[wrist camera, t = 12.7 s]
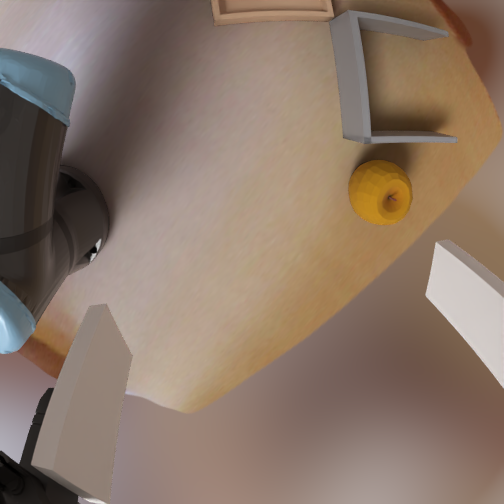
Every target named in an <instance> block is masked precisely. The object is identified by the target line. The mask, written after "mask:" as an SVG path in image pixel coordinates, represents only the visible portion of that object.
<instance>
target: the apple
mask: <svg viewBox="0 0 504 504" xmlns="http://www.w3.org/2000/svg"><path fill="white" fill-rule="evenodd" d="M348 191H349V198H350V202H351V205H352V207H353V209H354V211H355V212H356V213H357V214H358V215H359V216H360V217H361V218H362V219H364V220H366V221H368V222H370V223H373V224H378V225H391V224H395V223H397V222H398V221H400V220H401V219H403V218H404V217H405V215H406V214H407V213H408V211H409V209H410V206H411V202H412V198H413V197H412V185H411V182H410V180H409V178H408V176H407V175H406V173H405V172H404V171H403V170H402V169H401V168H400V167H398V166H397V165H396V164H394V163H391V162H389V161H385V160H372V161H369V162H366V163H364V164H362V165H360V166H359V167H358V168H357V169H356V170H355V171H354V173H353V175H352V176H351V179H350V181H349V190H348Z"/></svg>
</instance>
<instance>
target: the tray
mask: <svg viewBox="0 0 504 504" xmlns="http://www.w3.org/2000/svg"><path fill="white" fill-rule="evenodd" d="M211 6H212V13H213V20H214V26H220V25H228V24H238V23H249V22H265V21H322V22H327V21H329V20H330V19H332V18H334V13H333V8H332V3H331V0H211Z"/></svg>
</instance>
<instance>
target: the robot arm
mask: <svg viewBox="0 0 504 504" xmlns="http://www.w3.org/2000/svg"><path fill="white" fill-rule="evenodd" d="M75 87H76V83H75V78H74V76H73V74H72V73H71V71H70V70H69V69H67V68H66V67H64V66H62V65H60V64H58V63H56V62H54V61H51V60H48V59H45V58H42V57H39V56H36V55H32V54H29V53H25V52H21V51H16V50H11V49H5V48H0V353H3V354H7V353H12V352H13V351H17V350H19V349H20V348H21V347H22V346H23V344H24V343H25V342H26V340H27V339H28V338H29V336H30V335H31V334H32V333H33V332H34V330H35V329H36V324H37V323H38V321H39V319H40V318H41V316H42V314H43V313H44V311H45V309H46V308H47V306H48V305H49V303H50V301H51V300H52V298H53V297H54V295H55V294H56V292H57V291H58V289H59V287H60V286H61V284H62V283H63V282H64V280H65V278H66V277H67V276H68V275H70V274H72V273H74V272H76V271H78V270H80V269H82V268H84V267H86V266H87V265H89V264H90V263H91V262H92V261H93V260H94V259H95V258H96V256H97V255H98V253H99V252H100V251H101V249H102V247H103V246H104V244H105V241H106V239H107V235H108V230H109V216H108V210H107V206H106V203H105V200H104V198H103V196H102V194H101V192H100V190H99V189H98V187H97V186H96V184H95V183H94V182H93V181H92V180H91V179H90V178H89V177H88V176H87V175H85V174H84V173H82V172H81V171H79V170H77V169H75V168H72V167H68V166H60V162H61V156H62V151H63V146H64V141H65V136H66V132H67V127H69V126H70V120H69V115H70V110H71V106H72V101H73V97H74V93H75ZM426 297H427V298H428V299H429V300H430V301H431V302H432V303H433V304H434V305H435V306H436V308H437V309H438V310H439V311H440V312H441V313H442V314H443V315H444V316H445V317H446V318H447V319H448V321H449V322H450V323H451V324H452V325H453V326H454V328H455V329H456V330H457V331H458V332H459V333H460V334H461V336H462V337H463V338H464V339H465V340H466V341H467V343H468V344H469V345H470V346H471V347H472V349H473V350H474V351H475V352H476V354H477V355H478V356H479V357H480V358H481V360H482V361H483V362H484V363H485V365H486V366H487V367H488V368H489V370H490V371H491V372H492V374H493V375H494V376H495V377H496V379H497V380H498V381H499V383H500V384H501V385H502V386H503V388H504V282H503V281H502V280H500V279H499V278H498V277H497V276H495V275H494V274H493V273H492V272H491V271H490V270H488V269H487V268H486V267H485V266H483V265H482V264H481V263H479V262H478V261H477V260H476V259H474V258H473V257H472V256H470V255H469V254H468V253H466V252H465V251H464V250H462V249H461V248H460V247H458V246H457V245H455V244H454V243H453V242H451V241H450V240H449V239H447V240H443V241H438V242H436V246H435V251H434V257H433V262H432V268H431V273H430V278H429V283H428V287H427V291H426ZM132 356H133V355H132V354H131V352H130V350H129V348H128V346H127V344H126V342H125V340H124V338H123V337H122V335H121V333H120V331H119V329H118V327H117V325H116V323H115V321H114V318H113V316H112V314H111V312H110V310H109V308H108V306H107V304H101V305H94V306H89V308H88V311H87V313H86V315H85V317H84V319H83V321H82V323H81V325H80V328H79V330H78V332H77V334H76V336H75V339H74V341H73V343H72V346H71V348H70V350H69V353H68V355H67V357H66V360H65V362H64V365H63V367H62V370H61V372H60V375H59V377H58V380H57V383H56V385H55V388H48V390H47V391H46V393H45V394H44V395H43V396H42V397H41V399H40V401H39V404H38V407H37V409H36V415H34V418H33V421H32V423H33V425H31V427H30V430H29V433H28V437H27V440H26V443H25V447H24V450H23V454H22V457H21V461H20V463H19V464H18V463H16V462H15V461H14V460H12V459H11V458H10V457H9V456H7V455H6V454H5V453H4V452H2V451H0V504H80V503H79V502H78V496H80V497H82V498H84V499H85V500H87V501H89V502H94V503H99V504H110V497H111V485H112V475H113V467H114V458H115V450H116V443H117V436H118V430H119V423H120V417H121V412H122V406H123V401H124V395H125V390H126V385H127V380H128V375H129V370H130V366H131V361H132Z"/></svg>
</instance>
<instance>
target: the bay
mask: <svg viewBox="0 0 504 504" xmlns="http://www.w3.org/2000/svg"><path fill="white" fill-rule="evenodd" d="M329 24H330V30H331V36H332V42H333V48H334V55H335V62H336V70H337V78H338V86H339V95H340V105H341V116H342V128H343V138H345V139H349V140H353V141H356V142H360V143H363V144H369V143H398V142H445V143H457V137H454V136H450V135H446V134H441V133H437V132H433V131H371V124H370V110H369V98H368V88H367V78H366V70H365V62H364V55H363V48H362V42H361V36H360V30H368V31H375V32H382V33H388V34H394V35H400V36H405V37H410V38H414V39H419V40H423V41H424V40H430V39H436V38H443V37H449V35H448V32H447V31H444V30H441V29H438V28H435V27H431V26H428V25H424V24H420V23H416V22H412V21H408V20H404V19H399V18H395V17H390V16H385V15H379V14H373V13H367V12H360V11H352V10H347V11H346V12H344V13H342V14H341V15H339V16H338V17H336V18H334V19H333V20H331V21H330V22H329Z"/></svg>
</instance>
